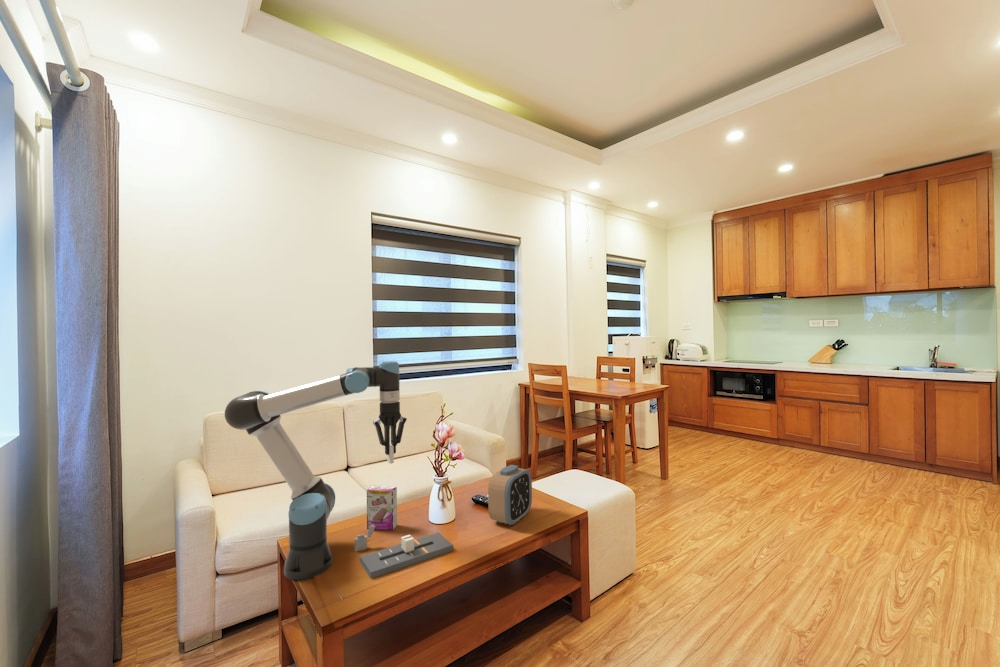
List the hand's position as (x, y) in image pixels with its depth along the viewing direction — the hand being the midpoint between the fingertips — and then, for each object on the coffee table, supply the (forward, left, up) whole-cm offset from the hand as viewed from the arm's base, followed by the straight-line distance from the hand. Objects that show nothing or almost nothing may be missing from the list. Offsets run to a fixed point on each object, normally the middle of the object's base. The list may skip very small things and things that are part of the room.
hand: (390, 462), depth 163 cm
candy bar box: (0, +11, -30) cm, 32 cm away
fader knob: (0, -16, -29) cm, 33 cm away
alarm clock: (+47, -14, -30) cm, 57 cm away
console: (0, -16, -29) cm, 33 cm away
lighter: (-11, -1, -30) cm, 31 cm away
